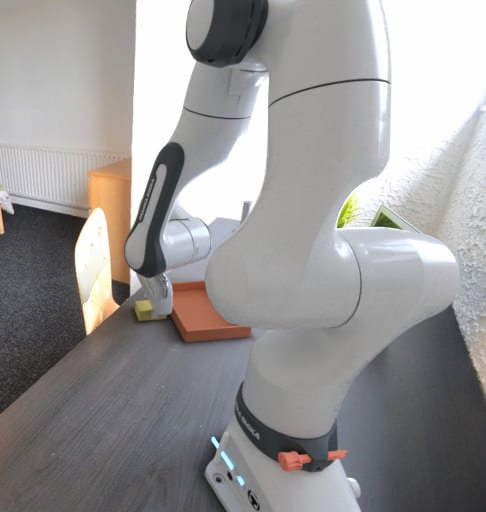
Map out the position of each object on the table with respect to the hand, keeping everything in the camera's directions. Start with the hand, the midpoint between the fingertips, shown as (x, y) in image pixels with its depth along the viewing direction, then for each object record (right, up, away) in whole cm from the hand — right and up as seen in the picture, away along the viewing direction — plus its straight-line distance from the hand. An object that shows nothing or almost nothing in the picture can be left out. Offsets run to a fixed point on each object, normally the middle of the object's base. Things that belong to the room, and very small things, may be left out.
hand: (151, 309), depth 92 cm
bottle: (+25, +5, +12) cm, 28 cm away
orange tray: (+13, -1, +1) cm, 13 cm away
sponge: (0, -1, +1) cm, 2 cm away
